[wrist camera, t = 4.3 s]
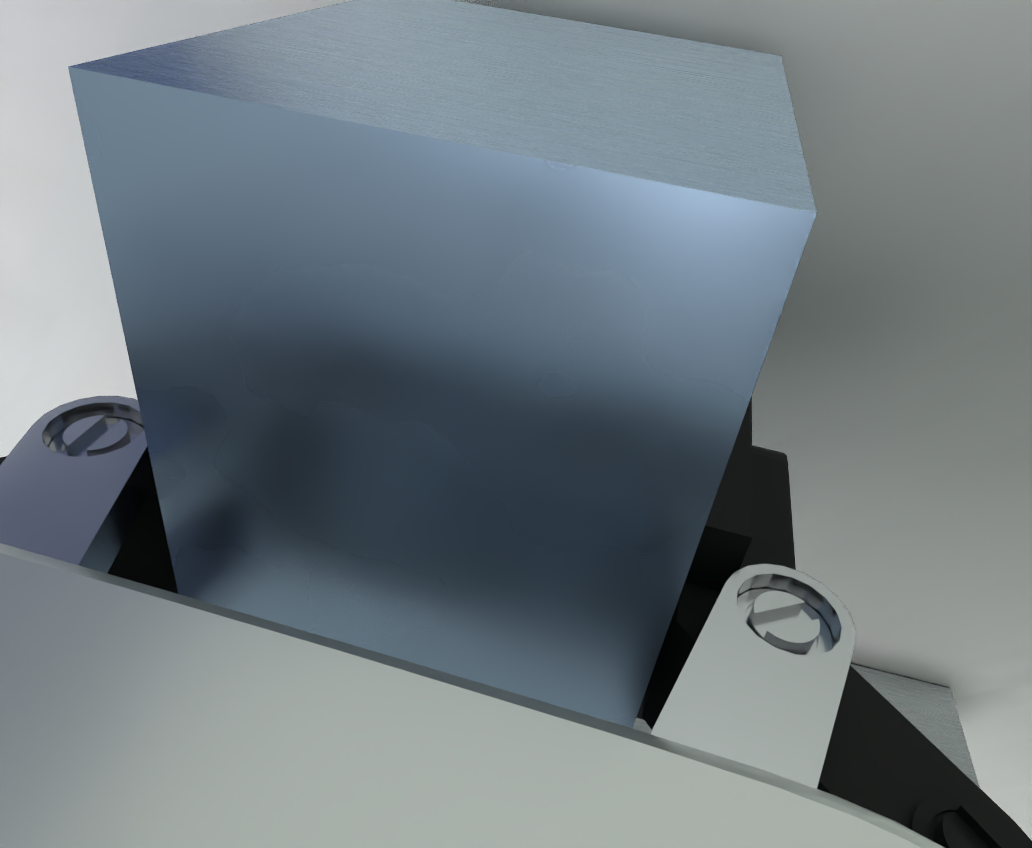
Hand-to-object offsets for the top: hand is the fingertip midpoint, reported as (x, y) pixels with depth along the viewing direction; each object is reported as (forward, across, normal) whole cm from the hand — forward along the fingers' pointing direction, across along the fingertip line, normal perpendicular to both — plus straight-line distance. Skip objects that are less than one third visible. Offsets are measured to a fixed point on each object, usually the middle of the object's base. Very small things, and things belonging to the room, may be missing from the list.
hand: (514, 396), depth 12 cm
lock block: (+1, 0, 0) cm, 1 cm away
